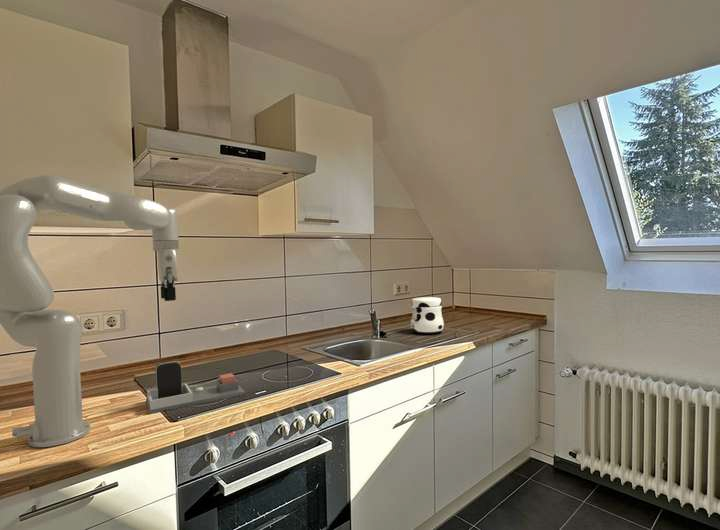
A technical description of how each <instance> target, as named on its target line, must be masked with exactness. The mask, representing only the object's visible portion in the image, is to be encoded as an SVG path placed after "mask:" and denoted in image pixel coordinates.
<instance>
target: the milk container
mask: <svg viewBox="0 0 720 530" xmlns="http://www.w3.org/2000/svg"><path fill="white" fill-rule="evenodd" d="M442 308H443V306H442V299H441V298H440V297H431V296H430V297H429V296H427V297H426V296H425V297H424V296H423V297H422V296H421V297H414V298H411V317H410V318H411V319H410V328H411V331H413V332H414V333H418V334H421V335H425V334H426V335H427V334H428V335H431V334H432V335H433V334H438V333H440V332H442V331H443V329H444V326H445V322H444V318H443V313H442V310H443V309H442Z"/></svg>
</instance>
